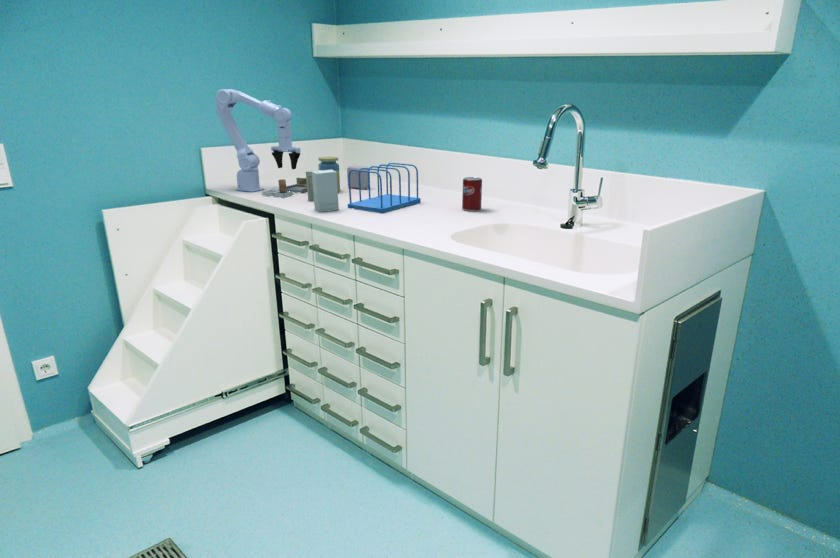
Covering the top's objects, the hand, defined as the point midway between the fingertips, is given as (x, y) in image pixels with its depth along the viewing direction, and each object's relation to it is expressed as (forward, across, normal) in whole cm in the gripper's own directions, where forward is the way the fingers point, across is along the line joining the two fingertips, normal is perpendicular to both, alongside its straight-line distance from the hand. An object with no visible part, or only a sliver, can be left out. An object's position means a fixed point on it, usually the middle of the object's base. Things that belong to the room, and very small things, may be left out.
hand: (287, 168), depth 259 cm
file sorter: (+10, +54, -8) cm, 56 cm away
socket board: (+10, +3, -11) cm, 15 cm away
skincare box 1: (+10, +24, -12) cm, 29 cm away
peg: (+9, +6, -11) cm, 15 cm away
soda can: (+10, +88, 0) cm, 89 cm away
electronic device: (+10, +24, +20) cm, 33 cm away
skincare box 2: (+10, +39, -26) cm, 48 cm away
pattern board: (+10, +4, +8) cm, 13 cm away
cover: (+8, +4, +11) cm, 15 cm away
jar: (+10, +18, +6) cm, 22 cm away
